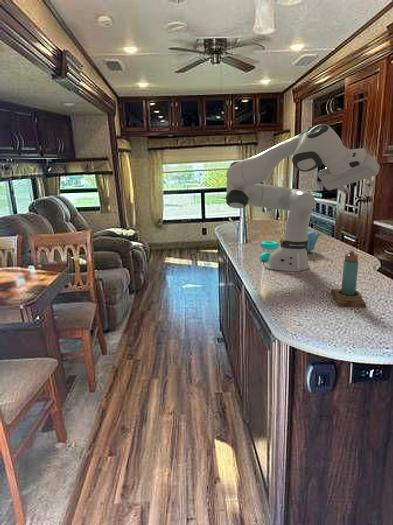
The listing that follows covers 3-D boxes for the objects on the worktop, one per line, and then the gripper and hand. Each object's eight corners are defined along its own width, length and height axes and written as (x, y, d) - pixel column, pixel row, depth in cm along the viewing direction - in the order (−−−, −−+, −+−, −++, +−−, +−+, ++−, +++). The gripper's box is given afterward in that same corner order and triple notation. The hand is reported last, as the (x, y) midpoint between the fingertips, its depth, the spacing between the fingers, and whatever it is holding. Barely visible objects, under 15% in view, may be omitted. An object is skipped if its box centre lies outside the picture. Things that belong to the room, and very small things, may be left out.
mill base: (337, 306, 130) (338, 298, 129) (331, 292, 144) (331, 285, 143) (365, 307, 128) (366, 299, 127) (356, 293, 142) (356, 286, 141)
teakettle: (292, 257, 202) (293, 231, 198) (280, 249, 220) (281, 226, 216) (323, 255, 204) (325, 230, 201) (308, 248, 222) (310, 225, 219)
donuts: (281, 241, 196) (276, 244, 187) (280, 258, 199) (275, 262, 190) (263, 239, 200) (258, 243, 192) (263, 256, 203) (257, 260, 195)
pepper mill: (342, 298, 132) (346, 252, 128) (339, 294, 137) (343, 249, 133) (356, 299, 131) (360, 252, 127) (353, 294, 136) (357, 249, 132)
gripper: (313, 178, 134) (332, 202, 139) (365, 158, 117) (384, 186, 123) (317, 166, 136) (335, 190, 142) (369, 146, 120) (387, 174, 126)
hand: (358, 188), depth 133 cm, fingers open, 8 cm apart
